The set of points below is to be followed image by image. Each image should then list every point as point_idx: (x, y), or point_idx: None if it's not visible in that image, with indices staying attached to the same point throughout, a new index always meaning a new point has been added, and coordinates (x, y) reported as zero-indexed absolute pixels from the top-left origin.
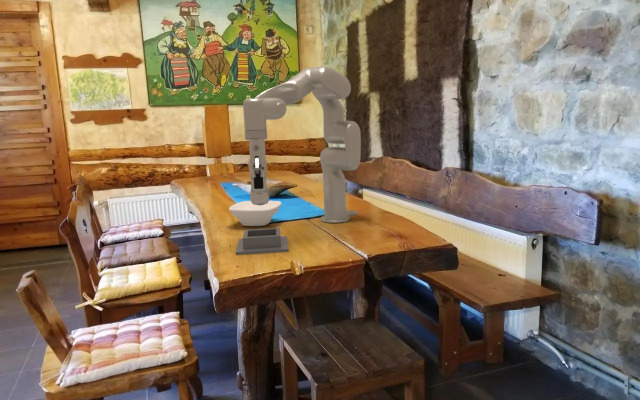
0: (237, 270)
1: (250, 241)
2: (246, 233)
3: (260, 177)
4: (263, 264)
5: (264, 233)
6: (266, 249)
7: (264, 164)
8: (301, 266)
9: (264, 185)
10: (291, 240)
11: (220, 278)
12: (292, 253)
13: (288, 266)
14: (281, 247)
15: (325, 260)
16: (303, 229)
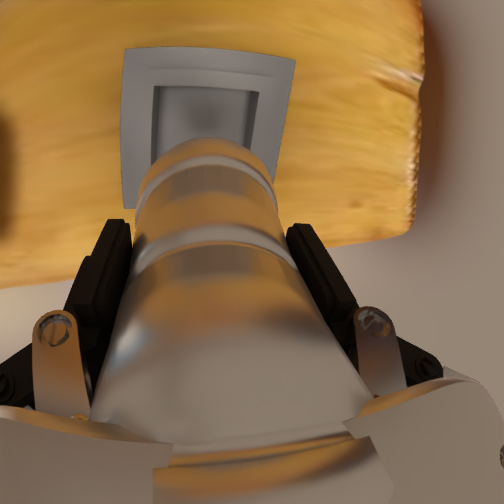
0: (377, 206)
1: None
2: None
3: (360, 319)
4: (370, 149)
5: (153, 128)
6: (276, 125)
7: (498, 414)
8: (415, 77)
9: (273, 221)
10: (157, 34)
11: (396, 234)
12: (315, 55)
13: (404, 101)
14: (272, 77)
15: (398, 13)
16: (36, 13)
